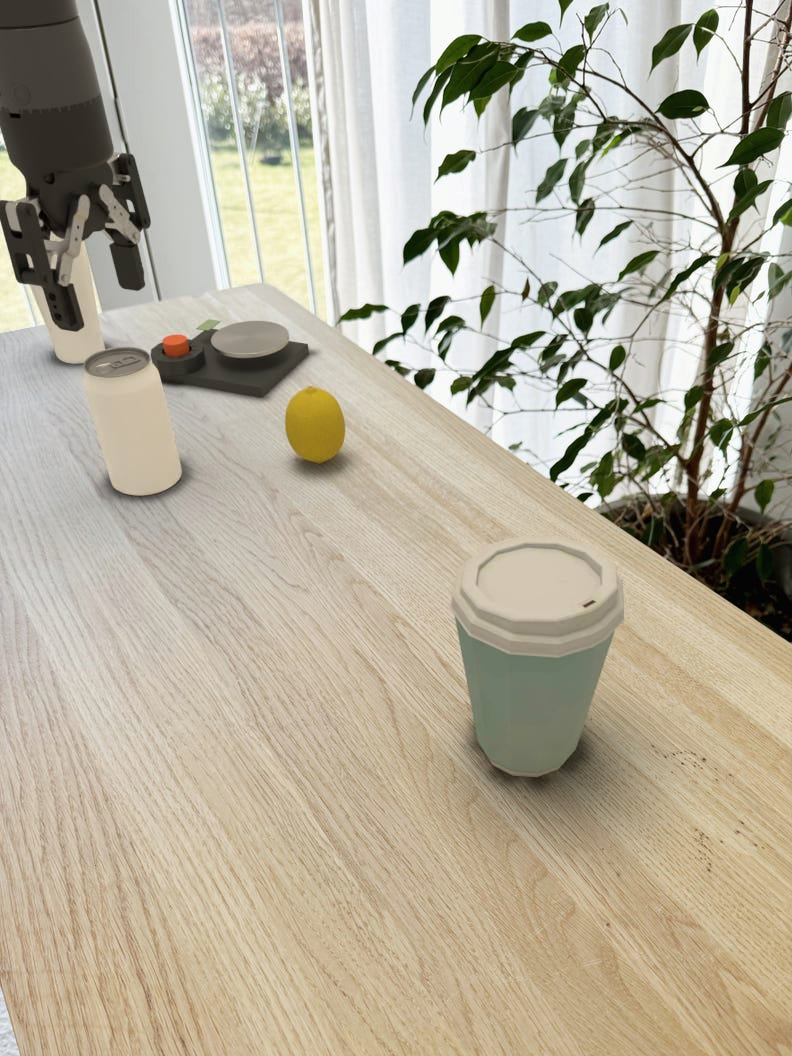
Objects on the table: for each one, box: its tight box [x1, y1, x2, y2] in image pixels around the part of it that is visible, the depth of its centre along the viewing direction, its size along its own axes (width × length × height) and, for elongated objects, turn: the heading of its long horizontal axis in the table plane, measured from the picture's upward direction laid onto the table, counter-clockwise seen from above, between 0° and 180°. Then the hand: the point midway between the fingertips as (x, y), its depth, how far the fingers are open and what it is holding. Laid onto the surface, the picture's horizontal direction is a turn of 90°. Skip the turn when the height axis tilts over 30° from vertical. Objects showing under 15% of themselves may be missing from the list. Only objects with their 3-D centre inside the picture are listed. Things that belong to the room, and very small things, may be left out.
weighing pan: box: [195, 318, 290, 358], centre depth 110 cm, size 12×8×1 cm
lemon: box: [284, 385, 346, 465], centre depth 94 cm, size 6×6×8 cm
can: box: [82, 346, 183, 497], centre depth 90 cm, size 6×6×12 cm
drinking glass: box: [26, 231, 106, 365], centre depth 109 cm, size 7×7×15 cm
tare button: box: [161, 333, 190, 357], centre depth 108 cm, size 3×3×2 cm
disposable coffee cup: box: [449, 534, 625, 778], centre depth 64 cm, size 11×11×15 cm
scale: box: [150, 328, 310, 399], centre depth 111 cm, size 14×12×3 cm
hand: (103, 308), depth 83 cm, fingers open, 8 cm apart
